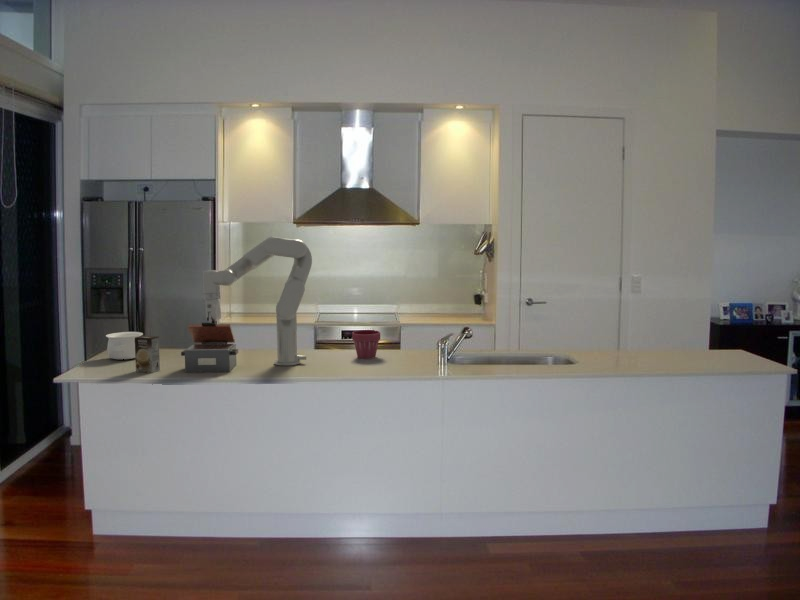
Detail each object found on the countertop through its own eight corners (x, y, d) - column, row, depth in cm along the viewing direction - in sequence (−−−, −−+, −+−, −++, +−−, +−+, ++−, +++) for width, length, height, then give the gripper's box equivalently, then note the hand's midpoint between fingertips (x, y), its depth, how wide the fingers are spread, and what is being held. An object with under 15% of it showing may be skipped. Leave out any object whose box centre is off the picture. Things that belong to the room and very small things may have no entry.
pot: (136, 362, 342) (135, 337, 341) (100, 363, 341) (99, 338, 340) (149, 354, 364) (148, 331, 363) (115, 354, 363) (113, 331, 361)
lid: (234, 344, 333) (235, 338, 335) (228, 325, 320) (229, 319, 322) (194, 344, 332) (195, 339, 334) (187, 325, 319) (187, 320, 321)
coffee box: (135, 372, 319) (133, 337, 317) (143, 369, 325) (142, 335, 323) (152, 373, 316) (150, 338, 315) (160, 370, 323) (159, 336, 321)
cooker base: (241, 364, 334) (240, 343, 333) (234, 372, 318) (234, 349, 317) (189, 365, 333) (188, 343, 332) (179, 372, 317) (178, 350, 316)
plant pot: (368, 360, 343) (367, 335, 341) (346, 357, 351) (346, 332, 350) (386, 356, 354) (386, 331, 353) (364, 353, 362) (364, 329, 361)
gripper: (215, 298, 321) (217, 337, 323) (224, 294, 336) (225, 332, 338) (199, 298, 321) (201, 337, 323) (208, 295, 336) (210, 332, 338)
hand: (213, 335), depth 330 cm, fingers closed
